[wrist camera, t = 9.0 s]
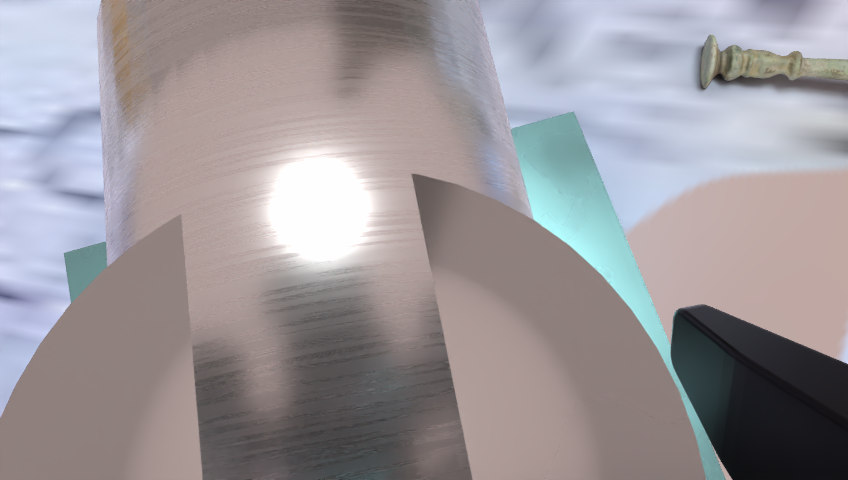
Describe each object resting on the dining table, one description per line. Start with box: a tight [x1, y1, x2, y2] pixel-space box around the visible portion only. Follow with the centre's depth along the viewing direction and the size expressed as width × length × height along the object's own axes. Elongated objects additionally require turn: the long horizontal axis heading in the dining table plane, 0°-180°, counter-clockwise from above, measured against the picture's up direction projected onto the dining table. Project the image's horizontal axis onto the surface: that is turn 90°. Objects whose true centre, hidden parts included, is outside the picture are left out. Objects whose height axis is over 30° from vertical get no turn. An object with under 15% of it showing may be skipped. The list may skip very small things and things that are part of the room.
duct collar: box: [64, 112, 726, 480], centre depth 16 cm, size 16×16×4 cm
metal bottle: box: [0, 0, 706, 480], centre depth 11 cm, size 8×5×13 cm, turn 11°
